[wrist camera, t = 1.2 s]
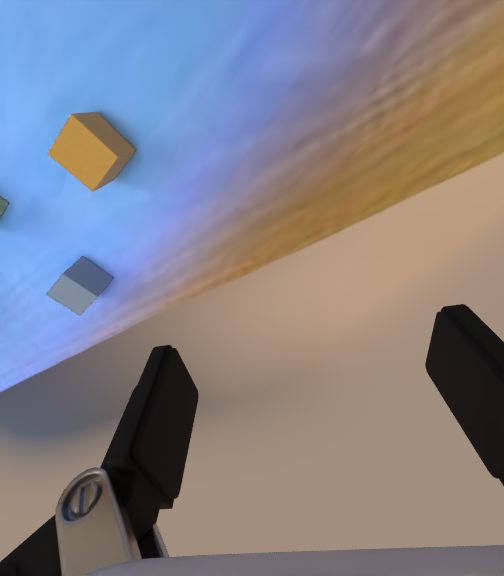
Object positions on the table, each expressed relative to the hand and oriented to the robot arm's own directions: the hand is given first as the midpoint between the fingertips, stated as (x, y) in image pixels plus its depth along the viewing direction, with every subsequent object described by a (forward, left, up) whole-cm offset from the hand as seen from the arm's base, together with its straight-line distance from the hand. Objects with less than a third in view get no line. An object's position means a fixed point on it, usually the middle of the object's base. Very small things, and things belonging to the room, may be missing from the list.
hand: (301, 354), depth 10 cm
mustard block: (-15, -11, -25) cm, 31 cm away
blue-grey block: (-8, -27, -25) cm, 37 cm away
